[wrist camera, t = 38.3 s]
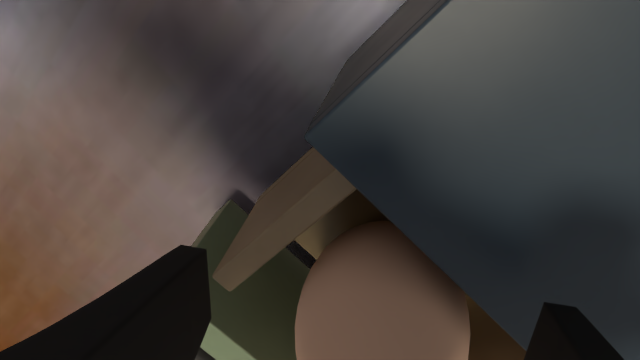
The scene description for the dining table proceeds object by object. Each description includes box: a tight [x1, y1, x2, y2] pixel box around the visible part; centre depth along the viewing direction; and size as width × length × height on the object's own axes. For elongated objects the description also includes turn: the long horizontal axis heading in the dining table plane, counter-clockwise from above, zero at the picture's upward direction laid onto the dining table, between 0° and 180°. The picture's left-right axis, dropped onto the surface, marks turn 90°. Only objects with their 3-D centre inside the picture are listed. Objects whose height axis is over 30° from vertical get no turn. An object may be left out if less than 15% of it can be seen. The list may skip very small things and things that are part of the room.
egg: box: [295, 221, 470, 360], centre depth 15 cm, size 5×5×8 cm
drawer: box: [191, 147, 526, 360], centre depth 17 cm, size 17×10×6 cm, turn 137°
